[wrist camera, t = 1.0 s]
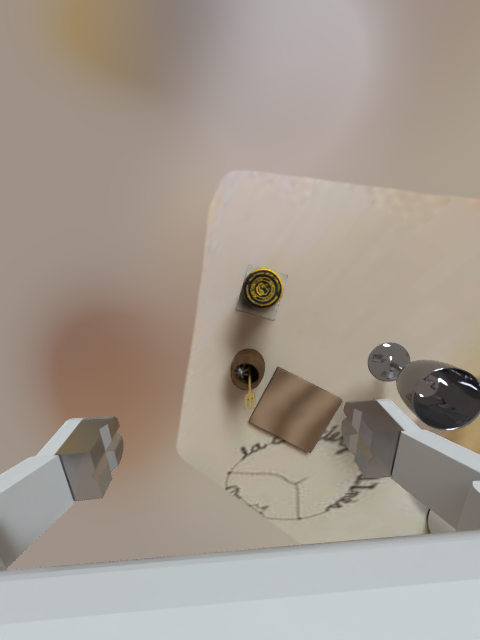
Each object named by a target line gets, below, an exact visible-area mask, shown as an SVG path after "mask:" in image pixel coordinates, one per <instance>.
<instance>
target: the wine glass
mask: <svg viewBox="0 0 480 640" xmlns="http://www.w3.org/2000/svg"><path fill="white" fill-rule="evenodd" d="M368 367H369V370H370V372H371V373H372V374H373V375H374V376H375V377H376V378H378V379H380V380H383V381H393V380H396V386H397V390H398V393H399V395H400V397H401V399H402V400H403V402H404V403H405V404H406V406H407V407H408V408H409V410H410V411H411V412H412V413H413V414H415V415H416V416H417V417H418V418H419V419H420V420H421V421H422V422H424V423H425V424H427V425H428V426H430V427H432V428H435V429H439V430H455V429H459V428H462V427H464V426H466V425H468V424H470V423H471V422H472V421H474V420H475V419H476V418H477V417H478V415H479V414H480V382H479V381H478V379H477V378H476V377H475V376H473V375H472V374H470V373H469V372H467V371H465V370H463V369H460V368H458V367H455V366H453V365H450V364H447V363H443V362H439V361H434V360H417V361H413V362H411V363H410V356H409V354H408V352H407V350H406V349H405V348H404V347H402V346H401V345H399V344H396V343H384V344H381V345H379V346H377V347H376V348H375V349H374V350H373V351H372V352H371V354H370V356H369V359H368Z"/></svg>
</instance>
